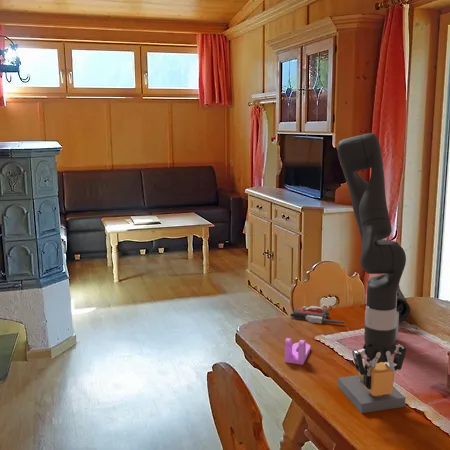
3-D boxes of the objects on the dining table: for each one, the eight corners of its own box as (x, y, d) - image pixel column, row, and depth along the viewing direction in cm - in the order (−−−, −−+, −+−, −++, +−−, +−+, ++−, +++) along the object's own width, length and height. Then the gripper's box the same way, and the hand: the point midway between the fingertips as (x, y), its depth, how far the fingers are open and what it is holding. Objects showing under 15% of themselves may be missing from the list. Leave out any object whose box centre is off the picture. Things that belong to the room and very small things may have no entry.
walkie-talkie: (288, 320, 193) (343, 327, 186) (288, 309, 192) (344, 315, 185) (294, 312, 201) (347, 318, 194) (294, 301, 200) (348, 307, 193)
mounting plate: (377, 380, 147) (378, 359, 146) (405, 406, 134) (406, 382, 132) (337, 386, 145) (338, 364, 143) (361, 413, 131) (362, 389, 130)
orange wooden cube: (382, 383, 138) (383, 362, 136) (392, 393, 133) (393, 371, 131) (363, 386, 137) (364, 364, 135) (373, 396, 132) (374, 373, 130)
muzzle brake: (382, 325, 187) (383, 297, 185) (372, 299, 214) (373, 274, 212) (410, 326, 185) (411, 298, 183) (397, 299, 212) (398, 274, 210)
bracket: (302, 365, 158) (302, 343, 157) (284, 362, 160) (284, 340, 158) (312, 347, 170) (312, 327, 168) (294, 345, 172) (295, 325, 170)
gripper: (398, 315, 136) (395, 376, 139) (346, 320, 133) (345, 383, 137) (415, 325, 129) (411, 390, 132) (360, 332, 126) (358, 397, 129)
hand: (378, 386), depth 134 cm, fingers closed on orange wooden cube, 5 cm apart
